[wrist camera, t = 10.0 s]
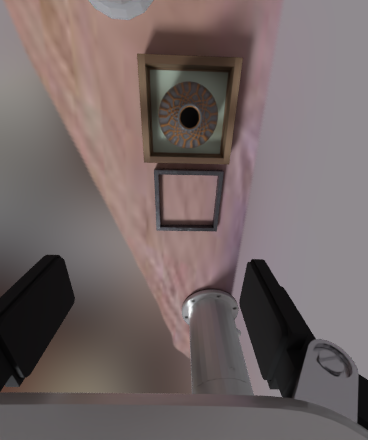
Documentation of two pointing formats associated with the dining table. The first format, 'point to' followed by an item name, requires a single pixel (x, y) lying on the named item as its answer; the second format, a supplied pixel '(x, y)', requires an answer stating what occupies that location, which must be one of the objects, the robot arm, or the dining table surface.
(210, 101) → the vase
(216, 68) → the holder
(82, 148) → the dining table surface
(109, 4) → the french press
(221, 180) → the trivet frame
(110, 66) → the dining table surface
